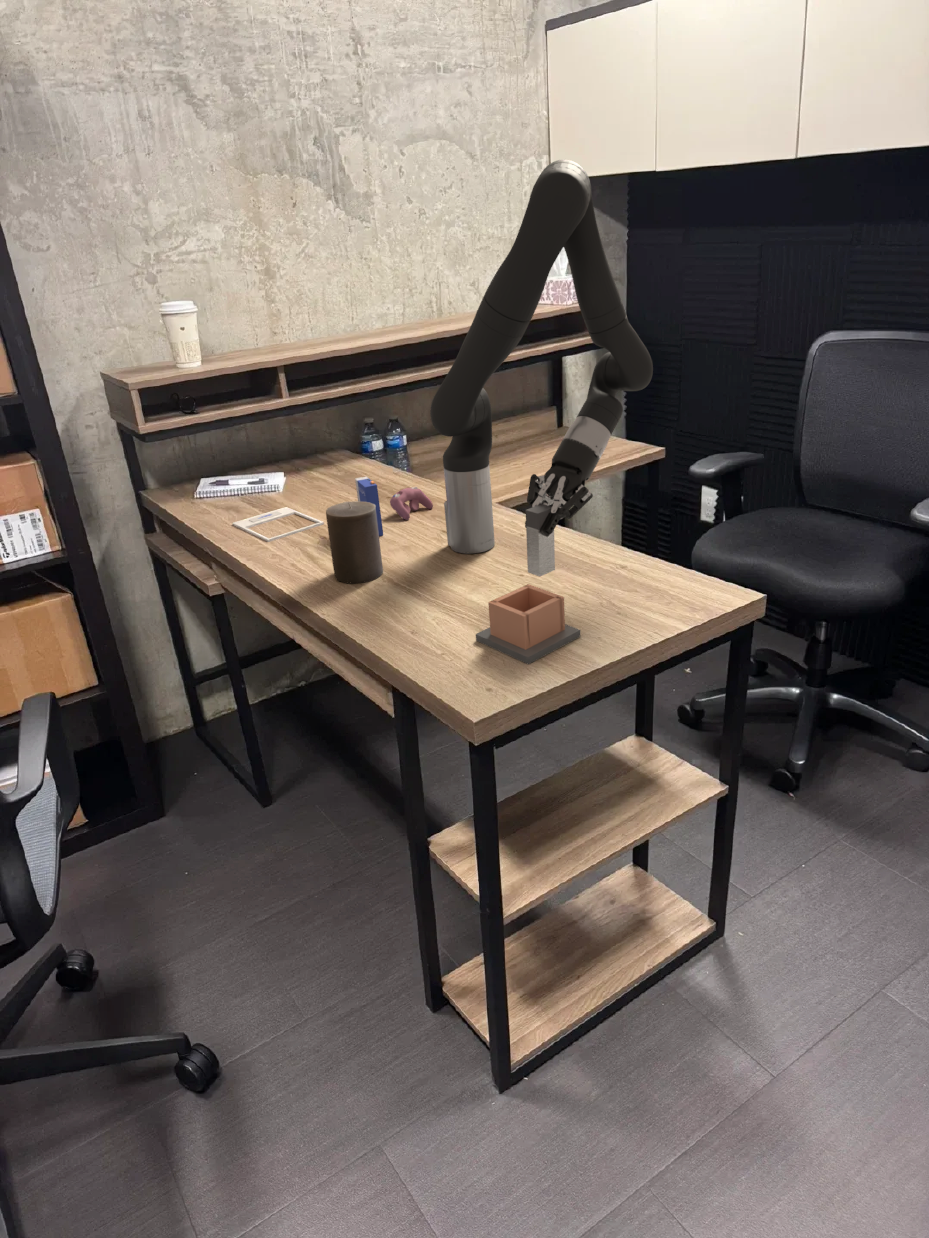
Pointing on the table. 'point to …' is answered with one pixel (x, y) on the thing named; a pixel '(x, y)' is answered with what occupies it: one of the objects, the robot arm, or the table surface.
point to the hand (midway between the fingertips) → (536, 531)
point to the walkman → (369, 497)
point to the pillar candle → (354, 542)
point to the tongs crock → (527, 624)
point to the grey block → (539, 542)
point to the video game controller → (414, 499)
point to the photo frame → (270, 517)
